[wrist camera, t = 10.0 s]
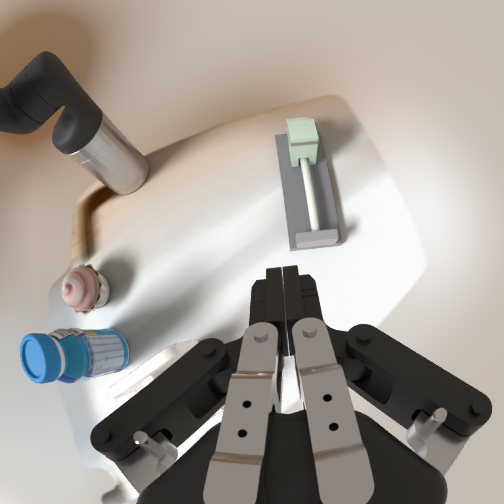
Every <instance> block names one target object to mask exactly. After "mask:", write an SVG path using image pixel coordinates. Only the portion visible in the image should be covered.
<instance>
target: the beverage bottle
mask: <svg viewBox="0 0 504 504" xmlns="http://www.w3.org/2000/svg"><path fill="white" fill-rule="evenodd" d="M20 358H21V363H22V366H23V369H24V371H25V373H26V375H27V376H28V377H29V378H30V379H31V380H32V381H33V382H35V383H48V382H52V381H55V380H59V381H61V382H65V383H74V382H77V381H78V382H82V381H87V380H89V379H91V378H95V377H99V376H103V375H107V374H111V373H116V372H119V371H121V370H123V369H124V368H125V367H126V365H127V363H128V361H129V347H128V344H127V342H126V340H125V338H124V337H123V336H122V335H121V334H120V333H119V332H118V331H116V330H113V329H102V330H81V329H78V328H70V329H57V330H55V331H53V332H51V333H50V334H49V335H47V334H37V333H33V334H28V335H26V336H25V337H24V338H23V340H22V342H21V346H20Z"/></svg>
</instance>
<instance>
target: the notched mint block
mask: <svg viewBox="0 0 504 504" xmlns="http://www.w3.org/2000/svg"><path fill="white" fill-rule="evenodd" d="M287 129H288V142H289V153H290V159H291V165H292V167H298V159H299V158H308V163H309V165H315V164H316V156H317V146H318V134H317V130H316V126H315V122H314V119H308V120H296V121H287Z"/></svg>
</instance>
